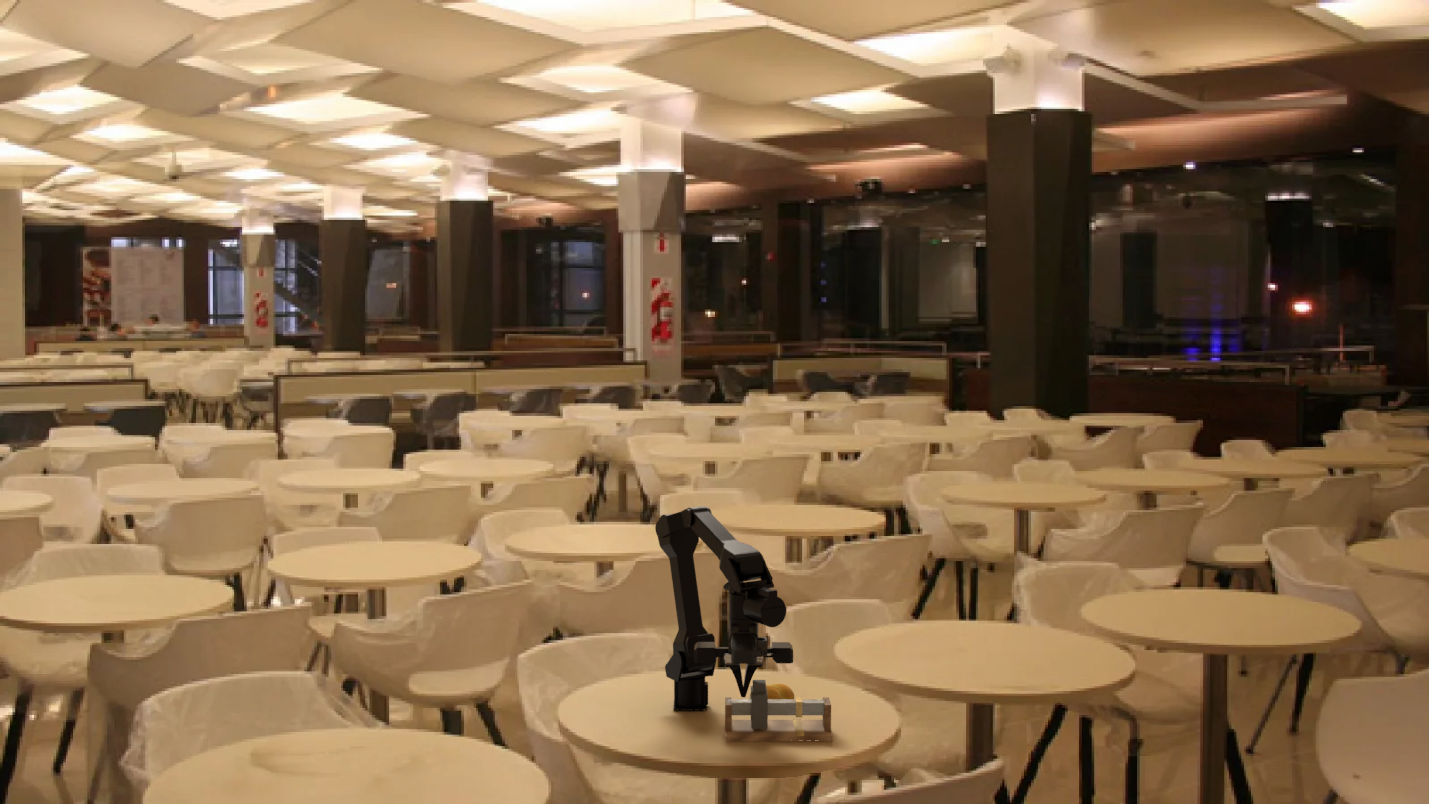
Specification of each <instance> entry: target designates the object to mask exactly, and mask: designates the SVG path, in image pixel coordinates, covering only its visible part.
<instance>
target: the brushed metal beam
mask: <svg viewBox="0 0 1429 804" xmlns="http://www.w3.org/2000/svg"><path fill="white" fill-rule="evenodd" d="M728 700H729V701H728V702H729V703H732V716H751V715H752V699H750V698H748V699H747V698H746V699H745V698H744V699H739V698H738V699H737V698H735V699H734V698H733V699H732V698H731V699H728ZM824 702H825V701H824V700H823V698H821V699H818V698H813V699H812V698H811V699H810V698H808V699H807V698H805V699H803V698H802V697H799V696H798V697H797V696H796V697H795V696H794V699H768V716H795V718H803V716H823V715H824ZM826 703H827V701H826Z"/></svg>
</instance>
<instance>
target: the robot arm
mask: <svg viewBox="0 0 1429 804" xmlns="http://www.w3.org/2000/svg"><path fill="white" fill-rule="evenodd" d="M655 533H656V537H657V539H658V544H659V547H660V549H661V550H662V551H663V552H664V554H665V555H666V556H667V558H668V559H669V566H670V573H671V574H670V575H671V580H672V581H671V582H672V589H673V597H674V603H675V611H676V616H677V617H676V619H677V625H678V629H677V633H676V636H675V638H674V640H673V643H672V655H671V657H670V658H669V660H668V661H667V662H666V664H665V665H664V668H665V669H664V670H665V674H666V675H665V676H666V678H668V679H670V680H672V681H674V682H673V688H674V689H673V693H674V694H673V697H674V698H673V706H672V707H673V708H672V709H673V711H706V707H707V706H708V705H709V682H708V681H706V677H713V676H714V672H715V669H716V664H717V660H718V658H723V660H724V667H725V668H729V669H730V670H731V672H732V674H733V676H734V678H735V681H736V684H737V687H738V691H739V694H740V697H741V698H746V696H747V693H748V690H749V687H750V684H751V681H752V680H753V676H754V674H755V672H756V670H757V669H758V668H763V666H764V663H763V660H764V658H772V660H773V662H774V663H776V664H793V663H794V649H793V645H792V644H791V643H790V642H789V641H788V642H787V641H782V642H781V641H778V642H777V641H772V642H771V647H770V646H769V647H768V637H767V636H760V633H759V631H760V630H759V629H760V628H759V626H760V625H759V624H761V625H763V626H765V627H768V628H776V627H778V626H779V625H781V624H782V623H783V621H784V620H785V618H786V615H787V612H788V611H787V607H786V603H785V601H784V600H783V599H782V598H781V597H779V596H778V590H777V589H774V588H775V584H774V582H773V576H772V574H771V572H770V571H769V568H768V566H767V563H766V561H765V558H764V555H763V554H762V553H761V551H759V550H758V549H757V548H755V547H754V546H752V545H750V544H748V543H745V542H740V541H739V540H737V539H736V538H735V536H734V535H733V534H732V533H730V531H728V529H727V528H725V526H724V525H723V524H722V522H720V521H719V520H718V519H717V518H716V517H715V516H714V515H713V513H712V510H711V508H710V507H708V506H705V505H704V506H701V505H700V506H693V507H690V506H689V507H687V508H685V509H683V510H681V511H679V512H675V513H666V514H662V515H660V517H659V518H658V520H657V521H656V522H655ZM700 540H701V541H702V542H703V543H704V544H705V545H706V546H707V547H708V549H709V550H711V552H712V553H713V554H714V555H715V556H716V557H717V559H718V560H719V566H718V567H719V571H721V572H722V574H723V576H724V577H725V579H726V580H727V582H726V583H725V584H724V585H723V590H726V591H728V640H727V641H728V642H727V643H728V644H727V645H728V646H721V647H720V646H718V647H717V646H716V641H715V639H716V638H715V636H714V634H713V633H709V632H708V631H707V629H706V628H705V627H704V625H703V617H702V610H701V609H702V608H701V604H700V603H701V602H700V595H699V588H698V581H697V574H696V573H697V572H696V567H695V557H694V555H695V552H696V549H697V547H698V545H699V542H700ZM759 579H760V580H759ZM741 664H742V665H743V664H744V665H745V671H744V678H743V676H742V674H743V673H742V667H741V666H742V665H741Z"/></svg>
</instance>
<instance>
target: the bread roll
mask: <svg viewBox="0 0 1429 804" xmlns="http://www.w3.org/2000/svg"><path fill="white" fill-rule="evenodd" d="M766 687H767V694H768V699H795V692H794V691H793V690H792V688H791V687H790V686H788V685H787V684H784V683H774V684H769V685H768V684H766ZM749 699H751V692H750V694H749Z"/></svg>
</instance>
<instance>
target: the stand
mask: <svg viewBox="0 0 1429 804" xmlns="http://www.w3.org/2000/svg"><path fill="white" fill-rule="evenodd" d="M728 699H732V697H731V696H730V697H729V696H728V697H727V696H726V697H724V731H725V732H724V736H725V739H724V740H725V742H800V741H799V740H803V741H802V742H808V741H807V740H811V741H810V742H816V741H815V740H819V741H818V742H833V735H832V704H831V699H830V697H828V696H827V697H825V696H824V697H822V699H823V700H824V701H825V702H824V715H822V719H801V718H797V719H796V718H793V719H768V729H752V727H751V719H733V718H732V717H733V715H732V703H729V702H728V701H729V700H728ZM826 701H827V703H826ZM791 740H792V741H791Z"/></svg>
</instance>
